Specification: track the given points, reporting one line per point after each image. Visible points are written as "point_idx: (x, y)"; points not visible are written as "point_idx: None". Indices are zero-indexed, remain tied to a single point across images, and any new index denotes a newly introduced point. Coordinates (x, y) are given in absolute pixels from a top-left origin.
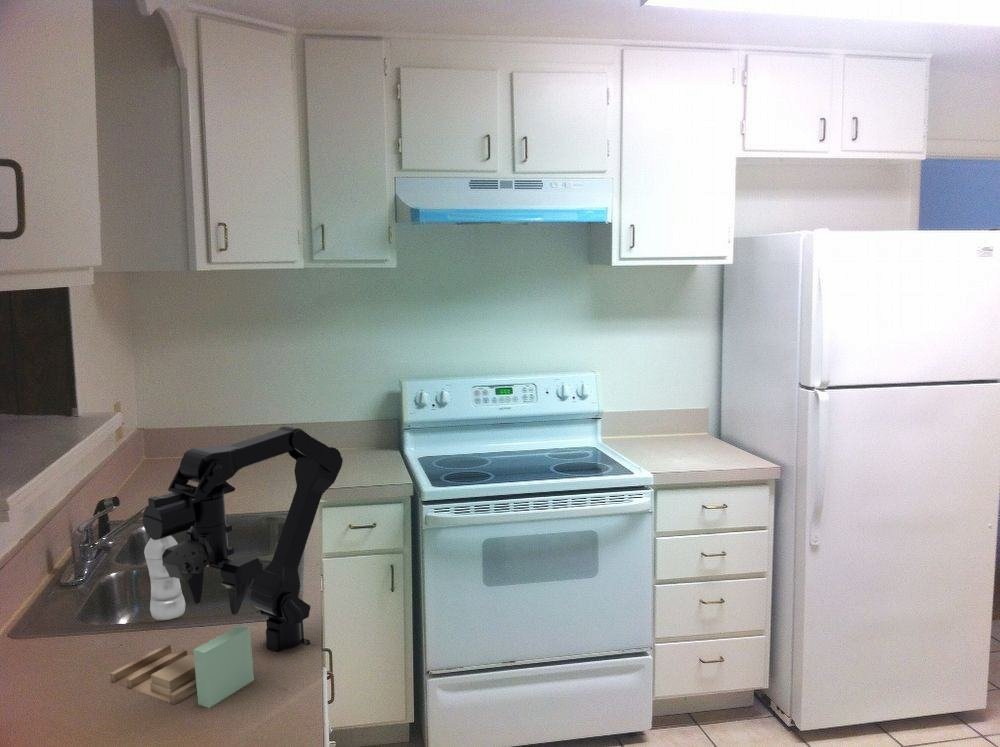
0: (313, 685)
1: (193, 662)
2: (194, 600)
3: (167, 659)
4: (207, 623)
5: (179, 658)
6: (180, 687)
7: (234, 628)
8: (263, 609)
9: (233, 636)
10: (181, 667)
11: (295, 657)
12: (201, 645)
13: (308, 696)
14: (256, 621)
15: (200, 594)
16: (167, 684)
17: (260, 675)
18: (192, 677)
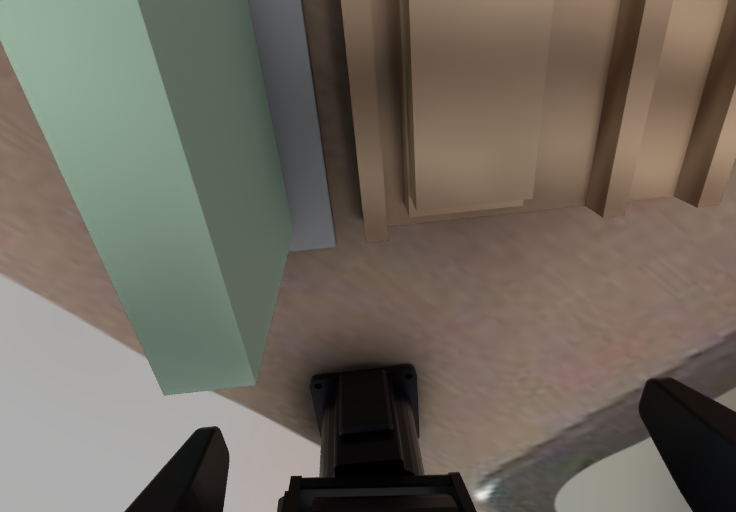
0: (101, 326)
1: (454, 138)
2: (680, 402)
3: (629, 125)
4: (688, 371)
5: (600, 174)
6: (398, 6)
7: (231, 346)
8: (385, 506)
9: (117, 282)
10: (469, 71)
11: (295, 387)
12: (145, 38)
13: (44, 282)
14: (555, 437)
15: (682, 477)
16: None
17: (288, 279)
18: (403, 86)
